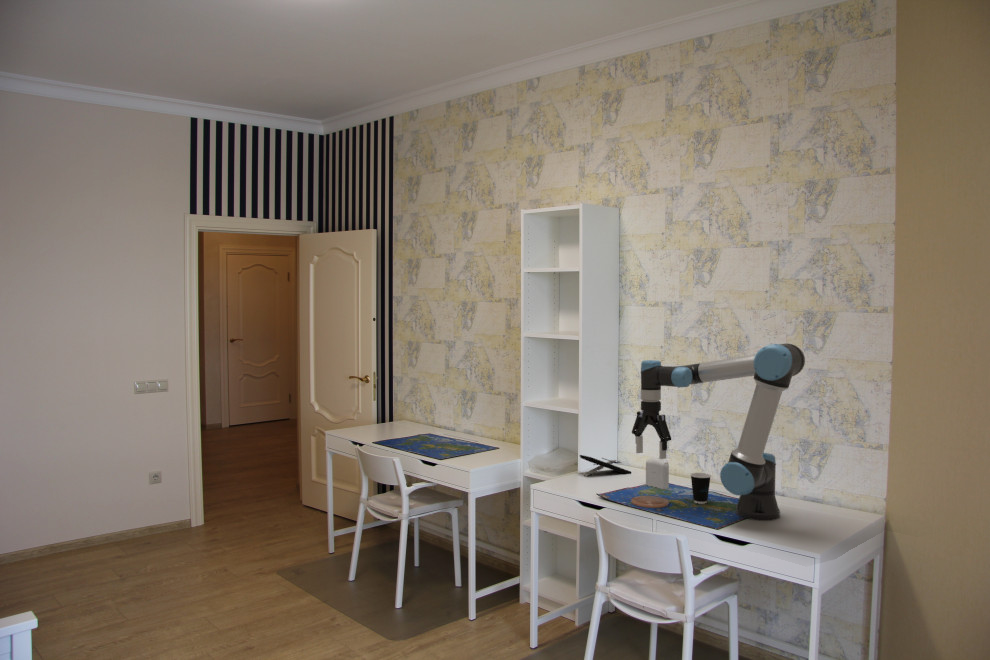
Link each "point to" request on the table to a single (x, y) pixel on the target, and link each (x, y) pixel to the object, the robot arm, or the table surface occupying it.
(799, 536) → the table surface
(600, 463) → the black folding stand
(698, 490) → the dixie cup
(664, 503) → the dish
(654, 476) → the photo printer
